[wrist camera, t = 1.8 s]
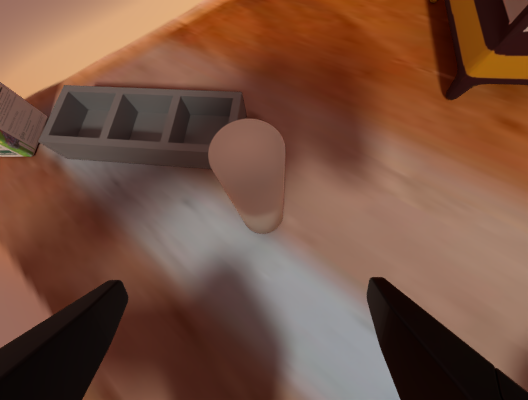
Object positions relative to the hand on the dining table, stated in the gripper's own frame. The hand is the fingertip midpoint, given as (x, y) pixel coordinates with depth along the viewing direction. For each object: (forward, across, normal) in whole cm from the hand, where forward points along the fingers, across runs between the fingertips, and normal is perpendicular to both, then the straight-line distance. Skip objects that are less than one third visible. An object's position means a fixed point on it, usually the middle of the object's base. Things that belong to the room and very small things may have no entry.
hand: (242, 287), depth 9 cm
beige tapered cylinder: (+14, 0, +5) cm, 15 cm away
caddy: (+21, +12, -2) cm, 24 cm away
